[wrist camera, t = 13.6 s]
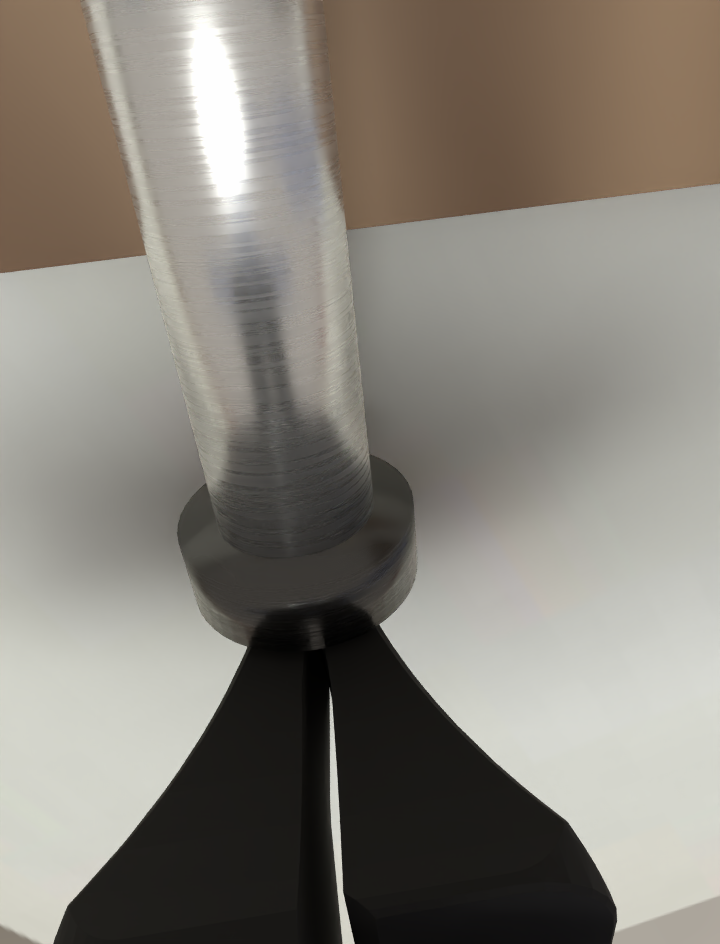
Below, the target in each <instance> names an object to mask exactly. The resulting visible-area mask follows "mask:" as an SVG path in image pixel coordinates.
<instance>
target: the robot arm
mask: <svg viewBox="0 0 720 944" xmlns="http://www.w3.org/2000/svg"><path fill="white" fill-rule="evenodd" d="M329 687H330V692H331V696H332V704H333V717H334V731H335V746H336V760H337V776H338V793H339V810H340V829H341V850H342V871H343V893H344V897H345V902H346V906H347V911H348V915H349V920H350V924H351V929H352V933H353V938H354V942H355V944H612V940H613V936H614V932H615V927H616V923H617V911H616V906H615V904H614V901H613V899H612V896H611V894H610V892H609V890H608V888H607V886H606V884H605V882H604V880H603V878H602V876H601V874H600V872H599V871H598V869H597V867H596V865H595V863H594V862H593V860H592V858H591V857H590V855H589V854H588V852H587V850H586V849H585V847H584V846H583V844H582V843H581V841H580V840H579V838H578V837H577V835H576V834H575V832H574V831H573V829H572V828H571V826H570V825H569V823H568V822H567V821H566V820H565V819H563V818H562V817H561V816H560V815H558V814H557V813H556V812H554V811H553V810H552V809H550V808H549V807H548V806H547V805H545V804H544V803H543V802H541V801H540V800H539V799H538V798H536V797H535V796H534V795H533V794H532V793H530V792H529V791H528V790H527V789H525V788H524V787H523V786H522V785H521V784H519V783H518V782H517V781H516V780H515V779H514V778H513V777H511V776H510V775H509V774H508V773H507V772H506V771H505V770H503V769H502V768H501V767H500V766H499V765H498V764H497V763H495V762H494V761H493V760H492V759H491V758H490V757H489V756H488V755H487V754H486V753H485V752H484V751H483V750H482V749H481V748H480V747H479V746H478V745H477V744H476V743H475V742H474V741H473V740H472V739H471V738H470V737H469V736H468V735H467V734H466V733H465V732H464V731H462V730H461V729H460V728H459V727H458V726H457V725H456V723H455V722H454V721H453V720H452V719H451V718H450V717H449V716H448V715H447V714H446V713H445V711H444V710H443V709H442V708H441V707H440V706H439V705H438V704H437V703H436V701H435V700H434V699H433V698H432V697H431V695H430V694H429V693H428V692H427V691H426V690H425V688H424V687H423V686H422V685H421V683H420V682H419V681H418V680H417V678H416V677H415V676H414V675H413V673H412V672H411V671H410V669H409V668H408V667H407V665H406V664H405V662H404V661H403V660H402V658H401V657H400V656H399V654H398V653H397V651H396V650H395V649H394V647H393V646H392V644H391V643H390V641H389V640H388V638H387V637H386V635H385V633H384V632H383V630H382V628H381V627H380V625H377V626H376V627H374V628H373V629H371V630H369V631H367V632H366V633H364V634H362V635H360V636H358V637H356V638H353V639H351V640H348V641H346V642H343V643H340V644H337V645H334V646H330V647H326V648H321V649H316V650H310V651H300V652H275V651H265V650H260V649H255V648H251V647H247V650H246V652H245V654H244V657H243V659H242V661H241V663H240V665H239V667H238V669H237V671H236V673H235V675H234V677H233V679H232V682H231V684H230V686H229V688H228V690H227V692H226V694H225V696H224V697H223V699H222V701H221V703H220V705H219V707H218V709H217V710H216V712H215V714H214V716H213V717H212V719H211V721H210V723H209V724H208V726H207V728H206V729H205V731H204V733H203V734H202V736H201V738H200V739H199V741H198V742H197V744H196V745H195V747H194V748H193V750H192V752H191V753H190V755H189V756H188V758H187V759H186V761H185V762H184V764H183V765H182V767H181V768H180V770H179V771H178V773H177V774H176V776H175V777H174V778H173V780H172V781H171V783H170V784H169V785H168V787H167V788H166V790H165V791H164V792H163V794H162V795H161V796H160V798H159V799H158V800H157V801H156V803H155V804H154V805H153V807H152V808H151V809H150V810H149V812H148V813H147V814H146V816H145V817H144V818H143V819H142V821H141V822H140V823H139V825H138V826H137V827H136V828H135V830H134V831H133V832H132V834H131V835H130V836H129V837H128V839H127V840H126V841H125V842H124V843H123V845H122V846H121V847H120V848H119V849H118V851H117V852H116V853H115V854H114V855H113V856H112V857H111V858H110V859H109V861H108V862H107V863H106V864H105V865H104V866H103V867H102V868H101V870H100V871H99V872H98V873H97V874H96V875H95V876H94V877H93V878H92V880H91V881H90V882H89V883H88V884H87V885H86V886H85V887H84V889H83V890H82V891H81V892H80V893H79V894H78V895H77V896H76V897H75V898H74V900H73V901H72V902H71V903H70V904H69V905H68V906H67V909H66V911H65V914H64V916H63V919H62V921H61V924H60V927H59V929H58V932H57V935H56V937H55V940H54V943H53V944H342V934H341V924H340V914H339V903H338V893H337V883H336V872H335V862H334V851H333V840H332V829H331V812H330V693H329Z"/></svg>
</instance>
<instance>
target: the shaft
mask: <svg viewBox="0 0 720 944" xmlns="http://www.w3.org/2000/svg"><path fill="white" fill-rule="evenodd" d="M80 3H81V7H82V11H83V14H84V18H85V22H86V26H87V30H88V33H89V37H90V41H91V45H92V49H93V53H94V56H95V60H96V64H97V68H98V72H99V75H100V79H101V83H102V87H103V91H104V94H105V98H106V102H107V106H108V110H109V114H110V117H111V121H112V125H113V129H114V133H115V136H116V140H117V144H118V148H119V152H120V155H121V159H122V163H123V167H124V171H125V174H126V178H127V182H128V186H129V190H130V194H131V197H132V201H133V205H134V209H135V213H136V216H137V220H138V224H139V228H140V232H141V235H142V239H143V243H144V247H145V251H146V254H147V258H148V262H149V266H150V270H151V274H152V277H153V281H154V285H155V289H156V293H157V296H158V300H159V304H160V308H161V312H162V315H163V319H164V323H165V327H166V331H167V335H168V338H169V342H170V346H171V350H172V354H173V357H174V361H175V365H176V369H177V373H178V376H179V380H180V384H181V388H182V392H183V395H184V399H185V403H186V407H187V411H188V415H189V418H190V422H191V426H192V430H193V434H194V437H195V441H196V445H197V449H198V453H199V456H200V460H201V464H202V468H203V472H204V476H205V479H206V484H205V485H204V486H202V487H201V488H200V489H199V490H198V491H197V492H196V493H195V494H194V495H193V496H192V498H191V499H190V500H189V502H188V503H187V505H186V506H185V508H184V510H183V512H182V514H181V516H180V520H179V523H178V532H177V534H178V541H179V545H180V548H181V552H182V555H183V558H184V561H185V565H186V568H187V571H188V575H189V578H190V581H191V584H192V588H193V591H194V594H195V597H196V601H197V604H198V606H199V609H200V611H201V613H202V615H203V616H204V618H205V619H206V621H207V622H208V623H209V624H210V625H211V626H212V627H213V628H214V629H215V630H216V631H218V632H219V633H220V634H222V635H223V636H225V637H226V638H228V639H230V640H232V641H234V642H236V643H239V644H242V645H245V646H247V647H251V648H255V649H260V650H265V651H275V652H300V651H310V650H316V649H321V648H326V647H330V646H334V645H337V644H340V643H343V642H346V641H348V640H351V639H353V638H356V637H358V636H360V635H362V634H364V633H366V632H367V631H369V630H371V629H373V628H374V627H376V626H377V625H379V624H380V623H382V622H383V621H384V620H386V619H387V618H388V617H389V616H390V615H391V614H392V613H394V612H395V611H396V610H397V608H398V607H399V606H400V605H401V604H402V603H403V601H404V600H405V599H406V597H407V595H408V594H409V592H410V591H411V588H412V586H413V583H414V581H415V577H416V572H417V550H416V534H415V518H414V502H413V495H412V491H411V488H410V486H409V484H408V482H407V481H406V479H405V478H404V476H403V475H402V474H401V473H400V472H399V471H398V470H397V469H396V468H394V467H393V466H391V465H390V464H389V463H387V462H385V461H383V460H381V459H379V458H377V457H375V456H372V455H370V454H369V450H368V440H367V430H366V420H365V410H364V400H363V391H362V381H361V371H360V361H359V351H358V341H357V331H356V322H355V312H354V302H353V292H352V282H351V272H350V263H349V253H348V243H347V233H346V223H345V213H344V204H343V194H342V184H341V174H340V164H339V154H338V144H337V135H336V125H335V115H334V105H333V95H332V85H331V76H330V66H329V56H328V46H327V36H326V26H325V17H324V7H323V0H80Z"/></svg>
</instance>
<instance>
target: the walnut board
mask: <svg viewBox="0 0 720 944" xmlns="http://www.w3.org/2000/svg"><path fill="white" fill-rule="evenodd" d="M323 7H324V17H325V26H326V36H327V46H328V56H329V66H330V76H331V85H332V95H333V105H334V115H335V125H336V135H337V144H338V154H339V164H340V174H341V184H342V194H343V204H344V213H345V223H346V230H350V229H358V228H366V227H374V226H382V225H390V224H398V223H406V222H414V221H422V220H430V219H438V218H446V217H454V216H462V215H470V214H478V213H486V212H494V211H503V210H511V209H519V208H527V207H535V206H543V205H551V204H559V203H567V202H575V201H583V200H591V199H599V198H607V197H615V196H623V195H631V194H639V193H647V192H655V191H663V190H671V189H679V188H687V187H695V186H703V185H711V184H719V183H720V0H323ZM142 255H147V254H146V251H145V247H144V243H143V239H142V235H141V232H140V228H139V224H138V220H137V216H136V213H135V209H134V205H133V201H132V197H131V194H130V190H129V186H128V182H127V178H126V174H125V171H124V167H123V163H122V159H121V155H120V152H119V148H118V144H117V140H116V136H115V133H114V129H113V125H112V121H111V117H110V114H109V110H108V106H107V102H106V98H105V94H104V91H103V87H102V83H101V79H100V75H99V72H98V68H97V64H96V60H95V56H94V53H93V49H92V45H91V41H90V37H89V33H88V30H87V26H86V22H85V18H84V14H83V11H82V7H81V3H80V0H0V273H5V272H13V271H21V270H29V269H37V268H45V267H53V266H61V265H69V264H77V263H85V262H93V261H101V260H109V259H117V258H125V257H133V256H142Z"/></svg>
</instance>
